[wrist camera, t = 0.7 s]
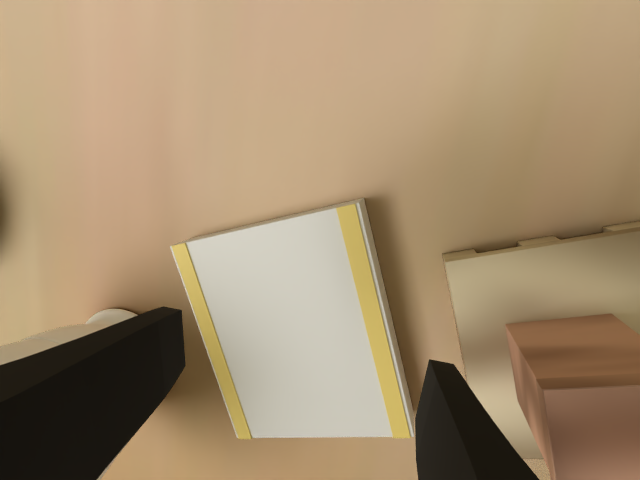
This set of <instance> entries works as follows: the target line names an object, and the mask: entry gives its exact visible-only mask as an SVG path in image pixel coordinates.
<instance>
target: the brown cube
mask: <svg viewBox="0 0 640 480" xmlns="http://www.w3.org/2000/svg"><path fill="white" fill-rule="evenodd" d="M505 327H506V333H507V340H508V346H509V352H510V358H511V364H512V370H513V376H514V382H515V388H516V394H517V400H518V403H519V405H520V407H521V409H522V412H523V414H524V416H525V418H526V420H527V423H528V425H529V427H530V429H531V432H532V434H533V436H534V438H535V441H536V443H537V445H538V447H539V449H540V452H541V454H542V456H543V458H544V461H545V463H546V465H547V467H548V469H549V472H550V477H551V480H640V335H639V334H638V333H636V332H635V331H634V330H632V329H631V328H630V327H629V326H627V325H626V324H625V323H623V322H622V321H621V320H619V319H618V318H617V317H616V316H614V315H613V314H612V313H610V314H600V315H590V316H581V317H571V318H561V319H551V320H541V321H531V322H521V323H511V324H505Z"/></svg>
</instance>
